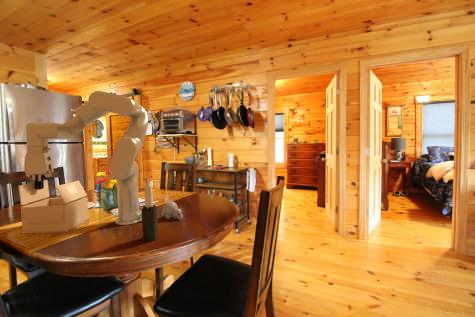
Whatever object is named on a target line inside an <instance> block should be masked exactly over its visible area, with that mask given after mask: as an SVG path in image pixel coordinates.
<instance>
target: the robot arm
mask: <svg viewBox="0 0 475 317" xmlns="http://www.w3.org/2000/svg"><path fill="white" fill-rule="evenodd" d="M109 113H112V114H115V115H122V116H125V117H126V118H129V120H130V121H129V124H128V126H127V129H126V132H125V136H122V137H120V138H119V139H118V140H117V142H116V143H115V145H114V149H113V152H112V155H111V156H112V157H111V160H110V163H109V168H108V169H109V173H110V176H111V177H112V178H113V179H115V180H116V195H117V214H118V217H117V218H116V219H115V221H114V223H115V225H121V226H124V225H125V226H126V225H133V224H136V223H137V224H138V223H139V222H142V210H141V209H140V199H139V196H140V195H139V165H138V163H137V161H136V157H137V156H138V155H139V154H140V153H141V152H142V150H143V146H144V141H145V138H146V134H147V130H148V126H149V115H148V112H147V111H146V109H145V108H144V107H143V106H142V105H141V104H140V103H139V102H138V101H136V100H135V99H133V98H131V97H129V96H125V95H120V94H117V93H116V94H115V93H111V92H107V91H102V90H95V91H93V92H91V93H90V94H89V96H88V101H87V102H86V103H83V104H81V105H79V106H78V107H76V109H75V115H74V117H72V118H71V119H69V120H67V121H65V122H64V123H56V122H46V123H44V122H43V123H42V122H28V123H27V124H26V125H25V133H26V134H25V135H26V136H25V138H26V153H25V155H24V162H23V163H24V164H23V167H24V168H23V169H24V173H25V177H27V178H31V179H32V182H33V183H34V186H35V190H40V189H43V188H44V180H47V178H50V177H52V174H53V173H54V162H53V157H52V154H51V152H49V151H51V147H49V140H68V139H71V138H72V137H74V136H76V135H78V134H80V133H81V132H83V131H85V129H86V128H87V127H88V126H89V125H90V124H92V123H93V122H95V121H97V120H99V119H100V118H102V117H104V116H106V115H107V114H109Z"/></svg>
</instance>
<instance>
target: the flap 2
mask: <svg viewBox="0 0 475 317" xmlns="http://www.w3.org/2000/svg"><path fill="white" fill-rule="evenodd" d="M54 188H55V189H56V191H57V193H58V194H59V198H62V200H63V202H64V204H66V203H68V202H71V201H74V200H76V199H79V198H82V197H86V196H87V197H88V195H87V193H86V191H85V189H84V187H83V185H82V184H81V181H80V180H75V181H72V182H67V183H64V184H59V185H56V186H54Z"/></svg>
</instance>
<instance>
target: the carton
mask: <svg viewBox="0 0 475 317" xmlns="http://www.w3.org/2000/svg"><path fill="white" fill-rule="evenodd" d="M88 202H89V199H88V196H87V197H86V196H84V197H82V198H79V199H76V200H74V201H71V202H68V203H66V204H64V202H63V200H62V198H61V197H47V198H44V199H41V200H37V201H34V202H31V203H28V204H25V205H21V206H20V213H21V214H20V216H21V225H22V234H23V233H36V234H57V233H59V234H60V233H61V234H62V233H65V234H66V233H69V232H71V231H73V230H74V229H76V228H78V227H80V226H82V225H84V224H85V223H87V222H89V221H90V213H89V212H90V211H89V209H88Z"/></svg>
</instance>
